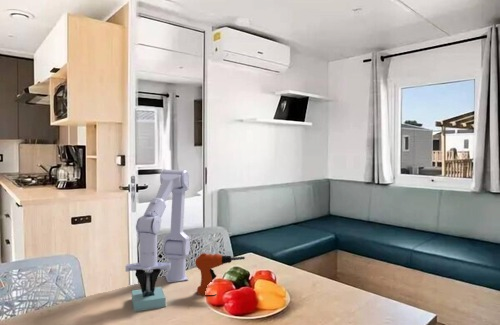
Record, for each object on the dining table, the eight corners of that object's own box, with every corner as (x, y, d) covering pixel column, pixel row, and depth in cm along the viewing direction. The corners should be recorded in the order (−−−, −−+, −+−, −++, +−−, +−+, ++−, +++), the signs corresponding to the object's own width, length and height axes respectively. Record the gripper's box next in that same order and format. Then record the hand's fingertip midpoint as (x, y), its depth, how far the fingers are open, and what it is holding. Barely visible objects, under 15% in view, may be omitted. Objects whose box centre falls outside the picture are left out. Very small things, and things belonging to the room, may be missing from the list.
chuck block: (131, 298, 122) (131, 290, 122) (161, 294, 126) (161, 286, 126) (133, 311, 113) (133, 302, 113) (165, 306, 117) (165, 297, 117)
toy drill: (248, 293, 125) (243, 251, 124) (196, 297, 126) (191, 256, 126) (249, 288, 130) (244, 247, 129) (199, 292, 131) (194, 252, 131)
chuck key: (144, 303, 118) (144, 273, 118) (144, 300, 121) (145, 271, 121) (152, 302, 119) (152, 273, 119) (152, 299, 121) (152, 271, 121)
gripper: (123, 255, 114) (123, 296, 115) (168, 254, 116) (168, 295, 116) (128, 249, 121) (128, 288, 122) (171, 248, 123) (171, 286, 123)
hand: (148, 291), depth 120 cm, fingers closed on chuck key, 3 cm apart
